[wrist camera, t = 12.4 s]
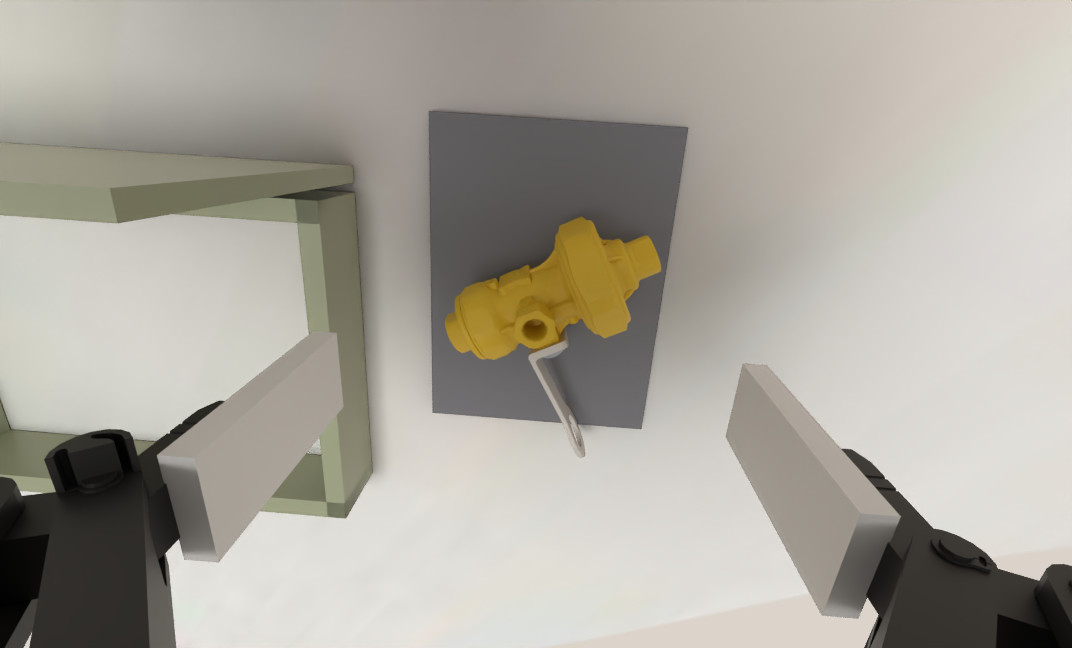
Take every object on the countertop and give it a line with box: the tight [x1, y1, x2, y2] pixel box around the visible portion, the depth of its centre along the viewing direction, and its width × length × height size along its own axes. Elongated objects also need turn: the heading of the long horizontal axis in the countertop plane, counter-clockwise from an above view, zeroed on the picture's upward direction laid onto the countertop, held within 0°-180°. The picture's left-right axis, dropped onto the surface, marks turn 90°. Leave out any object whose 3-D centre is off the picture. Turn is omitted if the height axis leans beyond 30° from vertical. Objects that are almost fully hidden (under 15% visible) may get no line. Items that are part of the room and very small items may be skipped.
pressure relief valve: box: [445, 216, 661, 458], centre depth 24 cm, size 6×12×10 cm
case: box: [0, 142, 372, 518], centre depth 21 cm, size 18×24×15 cm
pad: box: [429, 111, 688, 429], centre depth 26 cm, size 16×12×1 cm
